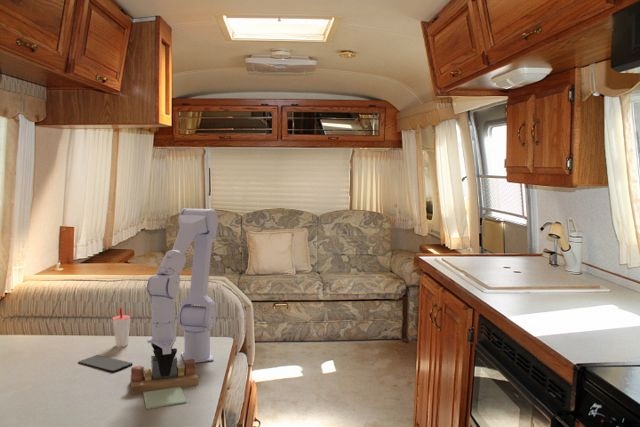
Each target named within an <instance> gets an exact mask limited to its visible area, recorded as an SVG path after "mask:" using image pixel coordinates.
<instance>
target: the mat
mask: <svg viewBox="0 0 640 427" xmlns="http://www.w3.org/2000/svg"><path fill="white" fill-rule="evenodd" d="M142 394H143V398H144V399H143V400H144V404H145V409H146V410H150V409H157V408H162V407H163V408H164V407H170V406H175V405H181V404H186V403H187V399H186V398H185V395H184V391H183V389H182V387H174V388H168V389H161V390H154V391H148V392H143V393H142Z"/></svg>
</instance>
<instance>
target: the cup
mask: <svg viewBox="0 0 640 427" xmlns="http://www.w3.org/2000/svg"><path fill="white" fill-rule="evenodd" d="M122 308H123V307H120V308H119V315H115V316H113V317H112V319H111V320H112V323H113V324H112V325H113V331H114V339H115V346H116V347H117V348H124V347H127V346H128V345H129V338H130V336H129V335H130V325H131V324H130V323H131V316H130V315H127V314H123V309H122Z"/></svg>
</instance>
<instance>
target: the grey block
mask: <svg viewBox="0 0 640 427" xmlns="http://www.w3.org/2000/svg"><path fill="white" fill-rule="evenodd" d="M150 362H151V363H150V369H151V375H152V379H153V380H160V379H167V378H174V377H177V364H178V357H177V354H176V355H175V357H174V359H173V362H172V367H171V372H170V375H169V376H164V377H161V374H160V370H159V364H158V360H157V358H156V356H155V355H151V356H150Z"/></svg>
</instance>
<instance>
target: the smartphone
mask: <svg viewBox="0 0 640 427" xmlns="http://www.w3.org/2000/svg"><path fill="white" fill-rule="evenodd" d="M77 363H78V364H80V365H82V366H83V365H84V366H86V367H91V368H92V369H93V368H94V369H97V370H101V371H104V372H106V373H111V374H115V373H118V372H121V371H122V370H125V369H127V368H129V367H132V366H133V362H129V361H125V360H121V359H117V358H115V357H114V358H113V357H109V356H104V355H102V354H96V355H93V356H91V357H87V358H85V359H81V360H79V361H78V362H77Z"/></svg>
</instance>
